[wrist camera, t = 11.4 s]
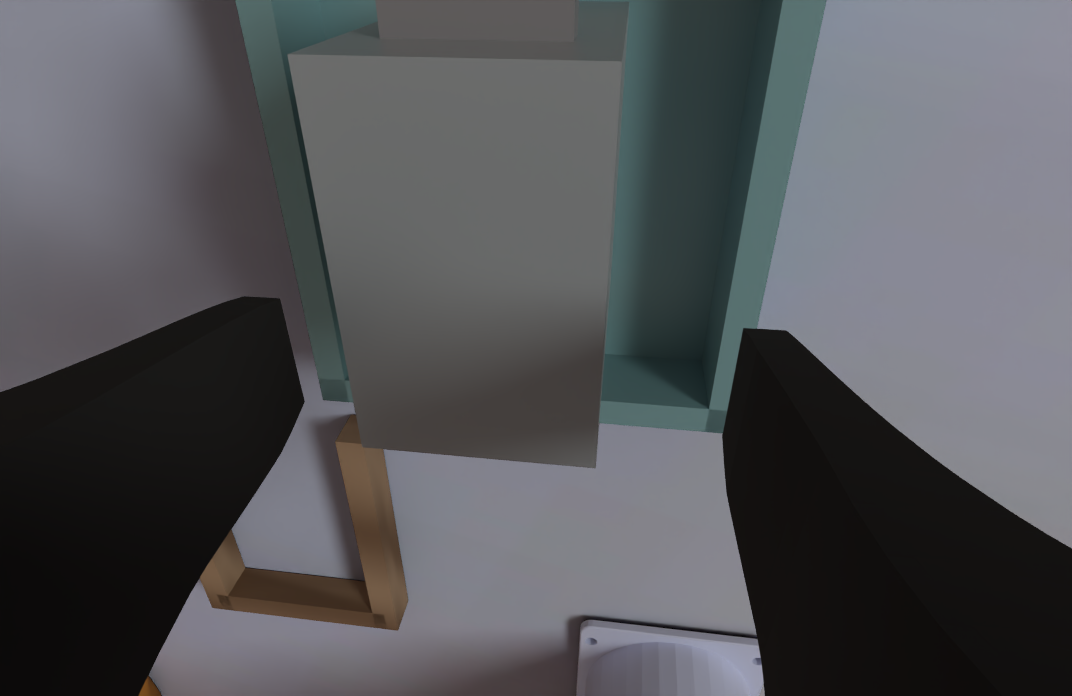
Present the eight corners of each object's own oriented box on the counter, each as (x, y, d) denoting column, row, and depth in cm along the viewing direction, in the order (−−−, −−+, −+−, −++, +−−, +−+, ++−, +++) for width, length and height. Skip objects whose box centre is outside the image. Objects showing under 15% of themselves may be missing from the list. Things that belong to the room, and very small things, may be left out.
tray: (723, 373, 21) (734, 434, 18) (358, 346, 22) (323, 400, 20) (829, -197, 13) (874, -226, 11) (266, -186, 15) (189, -209, 12)
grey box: (610, 276, 19) (595, 468, 12) (457, 267, 19) (361, 447, 13) (631, -29, 15) (624, 8, 8) (436, -30, 15) (277, 4, 9)
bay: (408, 600, 29) (398, 630, 28) (229, 579, 30) (212, 607, 29) (377, 416, 24) (363, 444, 22) (159, 398, 25) (133, 423, 23)
